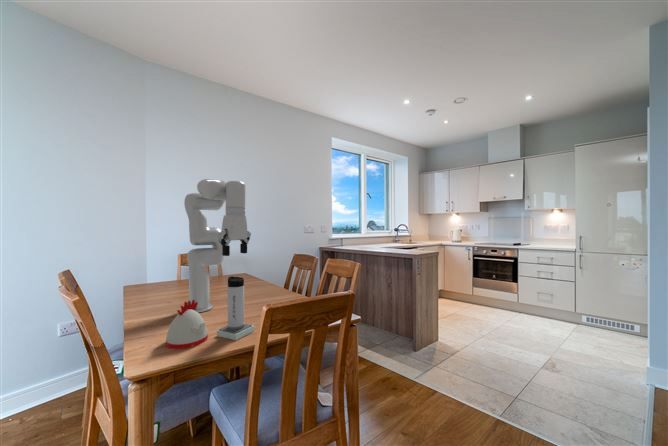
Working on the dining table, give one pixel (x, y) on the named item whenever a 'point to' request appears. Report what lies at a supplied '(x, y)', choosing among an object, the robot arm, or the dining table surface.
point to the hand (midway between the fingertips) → (235, 254)
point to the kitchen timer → (187, 328)
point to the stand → (235, 332)
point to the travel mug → (235, 303)
